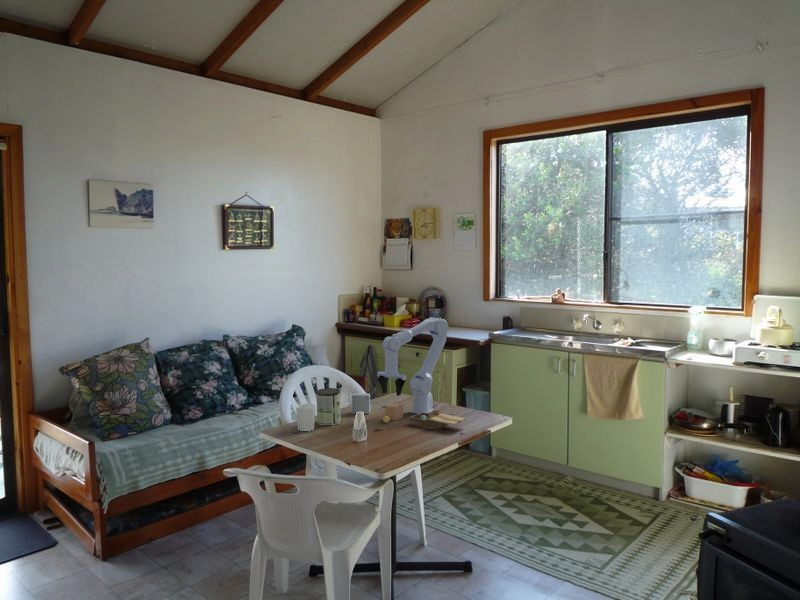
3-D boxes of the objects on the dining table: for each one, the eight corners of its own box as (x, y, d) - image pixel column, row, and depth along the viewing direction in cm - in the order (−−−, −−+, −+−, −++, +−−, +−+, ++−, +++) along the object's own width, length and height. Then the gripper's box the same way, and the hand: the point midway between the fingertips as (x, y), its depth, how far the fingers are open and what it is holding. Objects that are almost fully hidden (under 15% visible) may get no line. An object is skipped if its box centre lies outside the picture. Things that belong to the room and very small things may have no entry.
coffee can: (318, 419, 273) (317, 388, 271) (341, 419, 273) (340, 387, 272) (315, 426, 262) (314, 393, 261) (340, 425, 263) (339, 393, 262)
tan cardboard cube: (392, 415, 277) (392, 402, 276) (403, 417, 274) (402, 404, 273) (385, 418, 272) (385, 405, 272) (395, 420, 269) (395, 407, 269)
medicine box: (370, 411, 285) (370, 393, 284) (369, 414, 280) (368, 395, 279) (353, 411, 285) (353, 393, 285) (352, 414, 281) (351, 395, 280)
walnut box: (421, 419, 271) (421, 412, 271) (449, 424, 263) (449, 416, 263) (408, 424, 263) (408, 417, 263) (436, 430, 255) (436, 422, 254)
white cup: (319, 429, 258) (318, 405, 257) (304, 433, 252) (303, 409, 251) (307, 425, 263) (307, 402, 262) (292, 429, 258) (292, 406, 257)
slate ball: (422, 420, 269) (422, 413, 269) (428, 421, 267) (428, 414, 267) (418, 422, 266) (418, 415, 266) (424, 423, 265) (424, 416, 264)
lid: (438, 414, 266) (438, 407, 265) (466, 419, 258) (466, 412, 257) (425, 419, 258) (425, 412, 257) (454, 425, 249) (454, 417, 249)
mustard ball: (385, 421, 269) (385, 414, 268) (391, 422, 267) (391, 415, 267) (381, 422, 266) (381, 416, 266) (387, 424, 264) (386, 417, 264)
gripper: (372, 363, 274) (373, 393, 275) (399, 367, 266) (399, 398, 267) (382, 361, 280) (382, 390, 281) (408, 364, 271) (409, 394, 272)
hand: (391, 394), depth 274 cm, fingers open, 7 cm apart
